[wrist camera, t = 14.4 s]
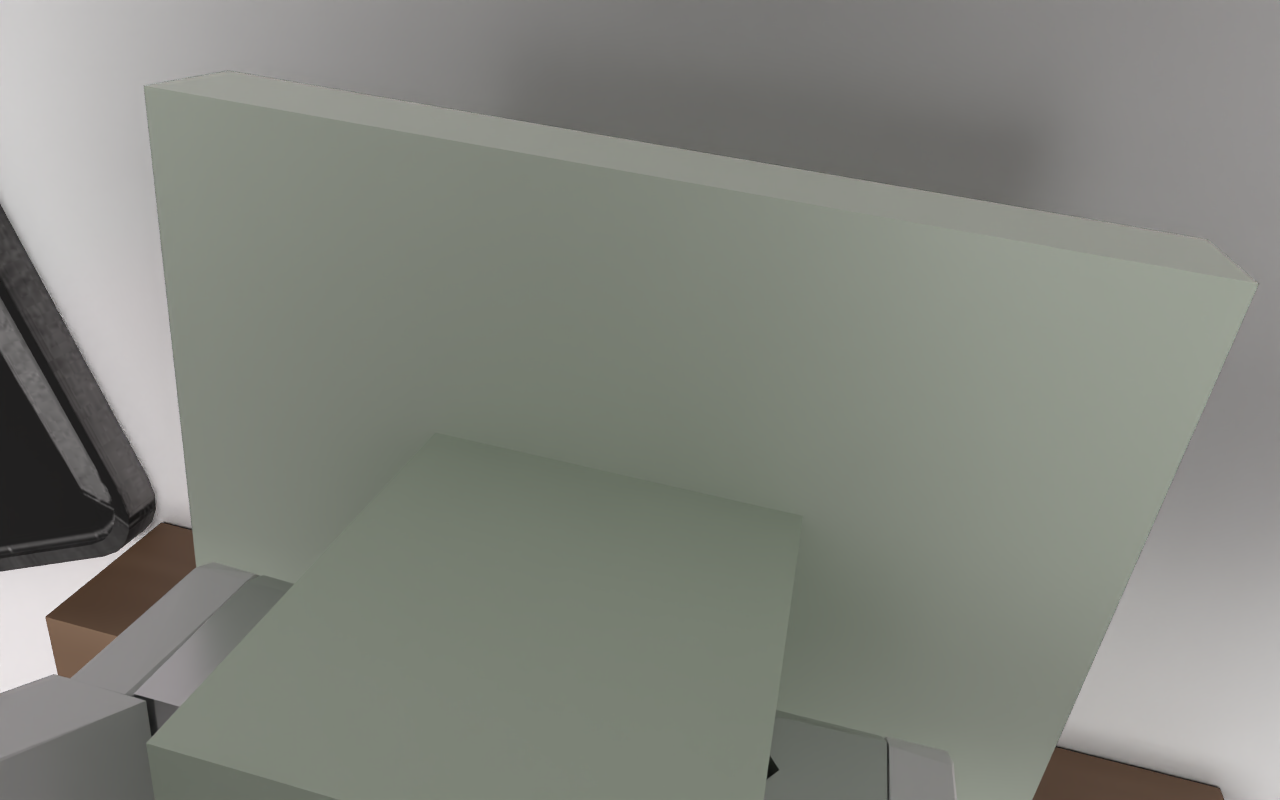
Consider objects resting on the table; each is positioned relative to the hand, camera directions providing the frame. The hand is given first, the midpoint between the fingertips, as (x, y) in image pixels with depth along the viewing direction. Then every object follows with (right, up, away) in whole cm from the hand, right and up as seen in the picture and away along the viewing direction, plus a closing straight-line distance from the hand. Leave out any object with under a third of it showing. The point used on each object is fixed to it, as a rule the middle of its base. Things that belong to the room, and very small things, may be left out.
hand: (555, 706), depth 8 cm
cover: (+1, +1, +2) cm, 3 cm away
